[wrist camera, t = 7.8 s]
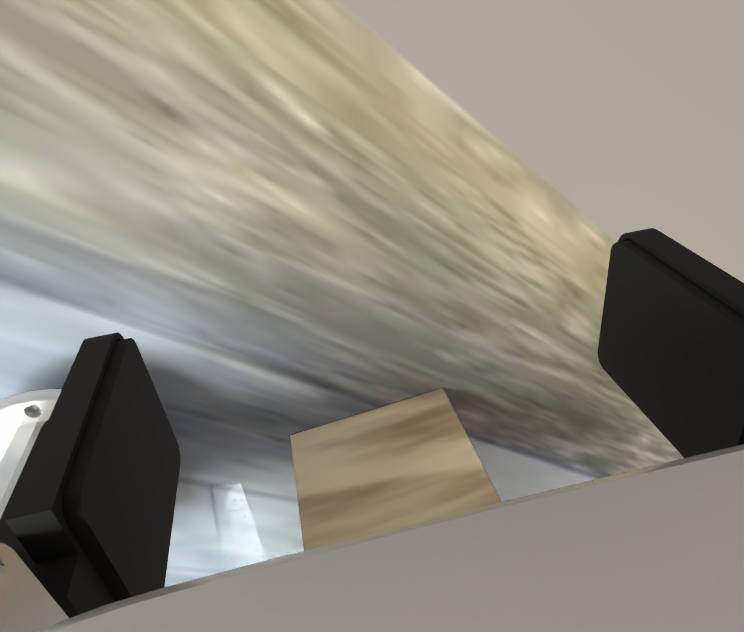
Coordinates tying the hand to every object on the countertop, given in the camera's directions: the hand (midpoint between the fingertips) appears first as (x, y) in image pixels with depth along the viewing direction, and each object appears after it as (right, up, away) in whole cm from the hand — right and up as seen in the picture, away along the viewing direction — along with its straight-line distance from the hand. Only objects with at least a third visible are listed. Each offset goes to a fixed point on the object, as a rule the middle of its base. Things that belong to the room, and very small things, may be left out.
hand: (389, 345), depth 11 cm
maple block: (0, -8, +32) cm, 33 cm away
